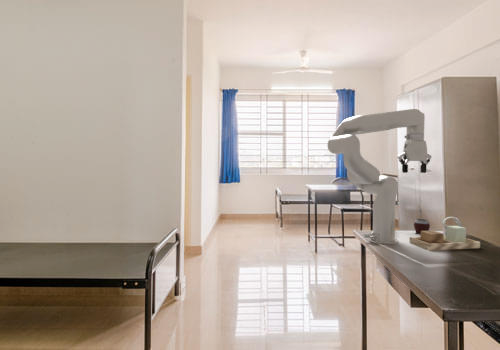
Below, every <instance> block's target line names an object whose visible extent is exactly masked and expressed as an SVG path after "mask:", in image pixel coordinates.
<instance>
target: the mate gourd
mask: <svg viewBox="0 0 500 350" xmlns="http://www.w3.org/2000/svg"><path fill="white" fill-rule="evenodd" d="M417 207H418V209H419V214H420V218H417V219H415V220H414V221H413V227H414V231H415V233H414V234H415V235H421V231H430V228H431V227H430V226H431V225H430V222H429V220H427V219H425V218H424V219H423V216H422V209H421V207H420V205H419V204H418V205H417Z"/></svg>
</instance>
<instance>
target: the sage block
mask: <svg viewBox="0 0 500 350" xmlns="http://www.w3.org/2000/svg"><path fill="white" fill-rule="evenodd" d="M445 236H446V240H447V241H451V242H454V243H458V242H466V238H467V227H464V226H463V227H460V226H458V225H446V229H445Z"/></svg>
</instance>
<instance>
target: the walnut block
mask: <svg viewBox="0 0 500 350" xmlns="http://www.w3.org/2000/svg"><path fill="white" fill-rule="evenodd" d="M444 234H445V233H443V232H439V231H436V230H429V231H421V234H420V237H421V241H423V242H426V243H429V244H434V243H443V240H444V236H445V235H444Z"/></svg>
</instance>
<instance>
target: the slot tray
mask: <svg viewBox="0 0 500 350" xmlns="http://www.w3.org/2000/svg"><path fill="white" fill-rule="evenodd" d="M409 244H412V245H414V246H417V247H420V248H422V249H424V250H427V251H442V250H464V249H465V250H467V249H480V248H481V241H478V240H474V239H470V238H467V237H466V242H458V243H454V242H451V241H447V240H446V235H444V240H443V243H434V244H429V243H426V242H423V241H421V236H410V237H409Z"/></svg>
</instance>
